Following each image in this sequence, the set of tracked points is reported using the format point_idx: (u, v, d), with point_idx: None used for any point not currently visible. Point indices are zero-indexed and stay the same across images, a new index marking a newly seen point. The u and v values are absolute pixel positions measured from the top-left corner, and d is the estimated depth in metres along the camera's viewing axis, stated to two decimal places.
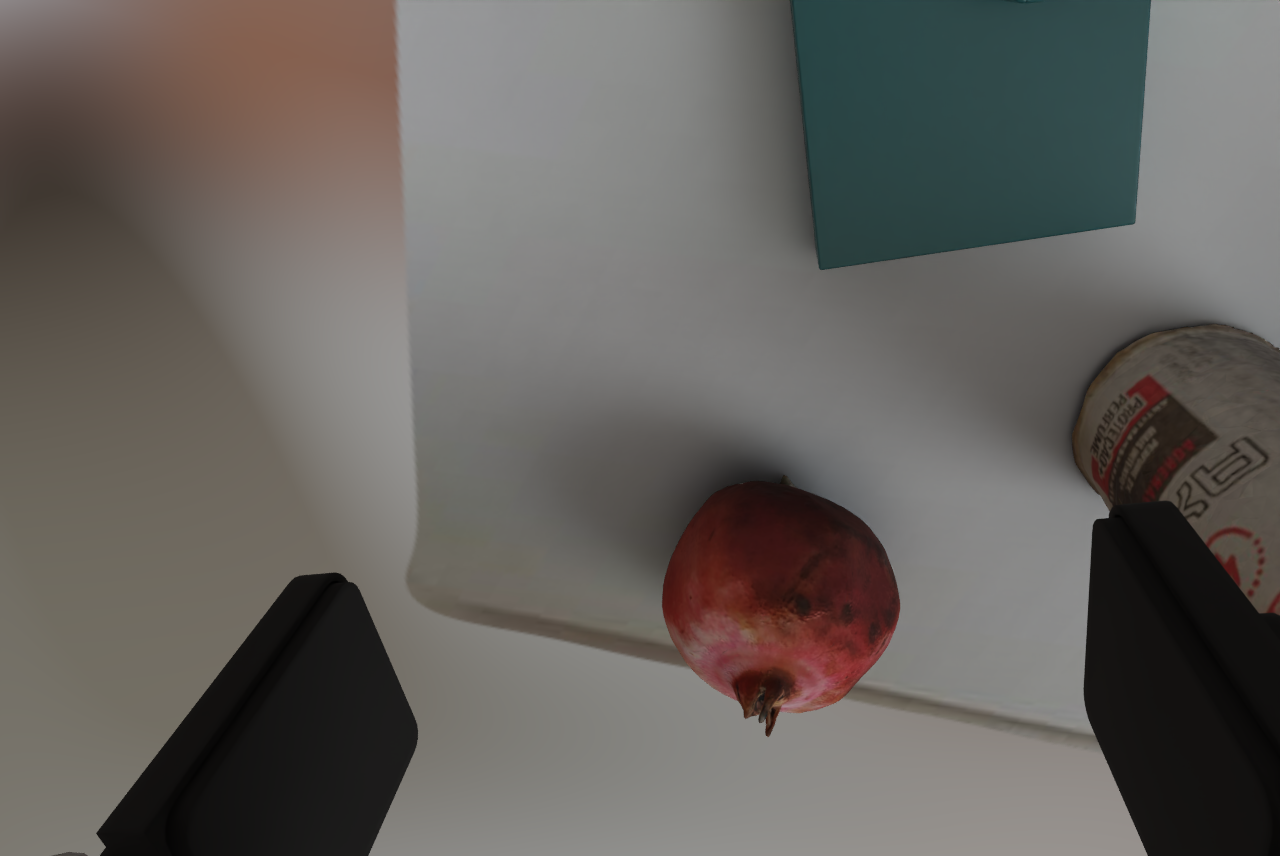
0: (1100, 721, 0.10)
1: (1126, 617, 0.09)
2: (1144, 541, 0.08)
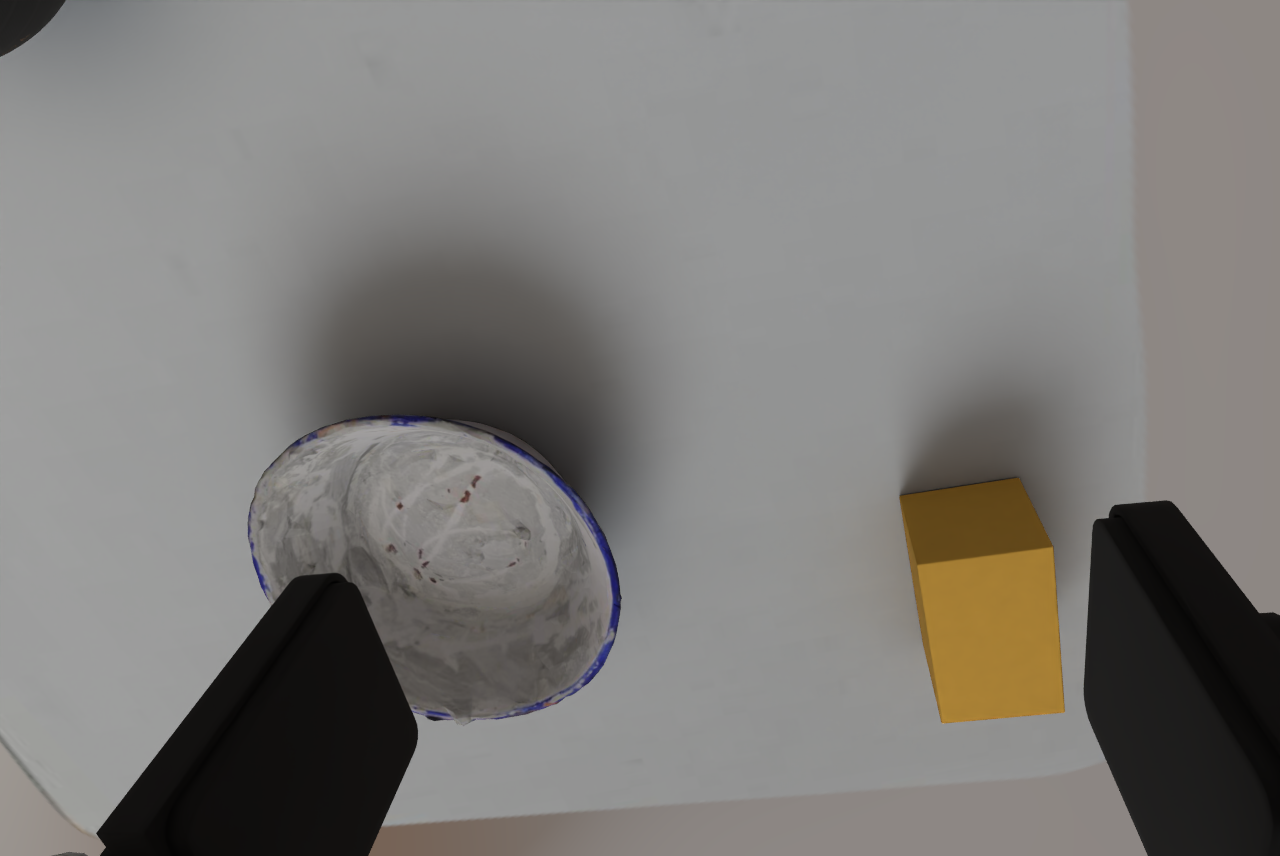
0: (1100, 721, 0.10)
1: (1126, 617, 0.09)
2: (1144, 541, 0.08)
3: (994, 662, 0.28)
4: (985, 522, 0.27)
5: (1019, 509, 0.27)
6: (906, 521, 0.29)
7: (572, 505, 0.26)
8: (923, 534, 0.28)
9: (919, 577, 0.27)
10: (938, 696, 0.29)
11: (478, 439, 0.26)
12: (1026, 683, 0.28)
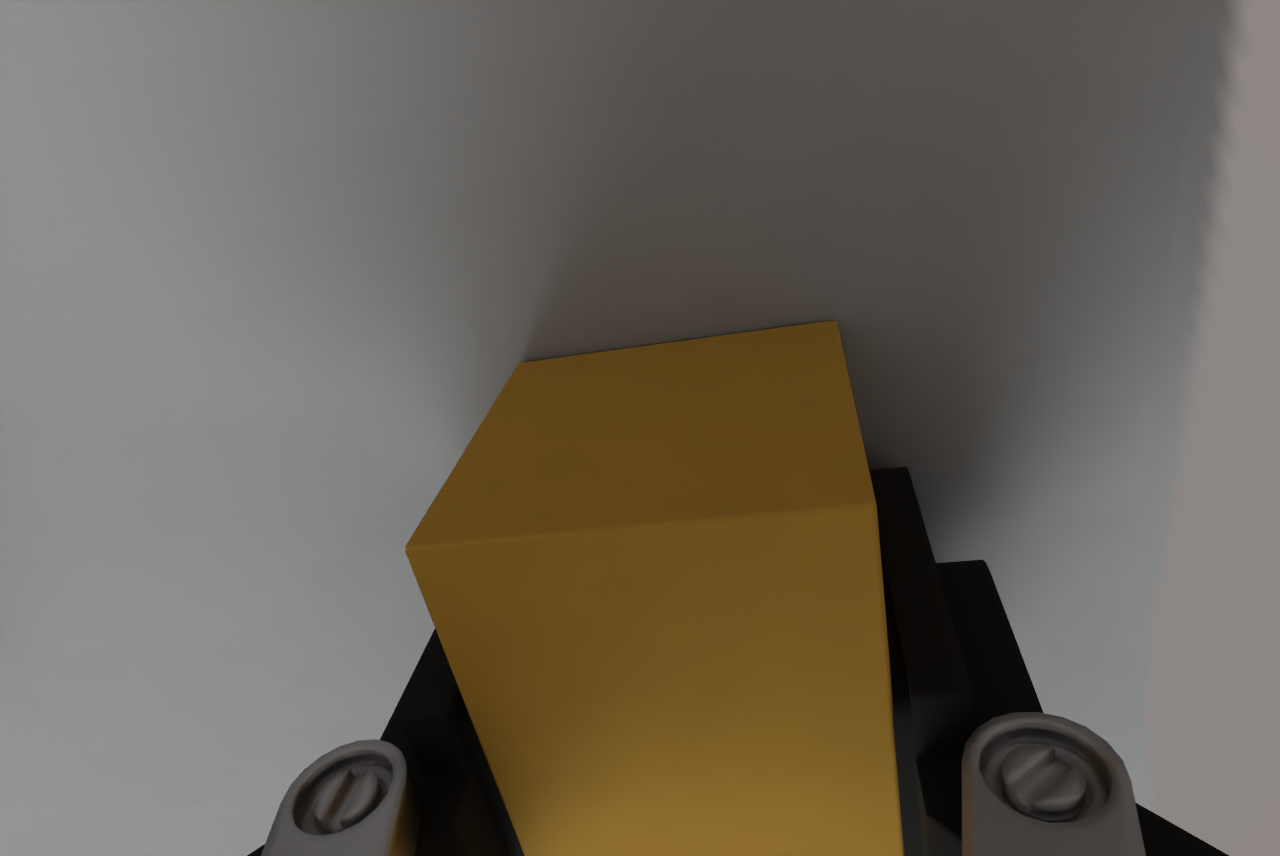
0: None
1: None
2: None
3: None
4: (689, 424, 0.08)
5: (805, 391, 0.08)
6: (485, 421, 0.09)
7: None
8: (497, 455, 0.09)
9: (425, 594, 0.08)
10: None
11: None
12: None
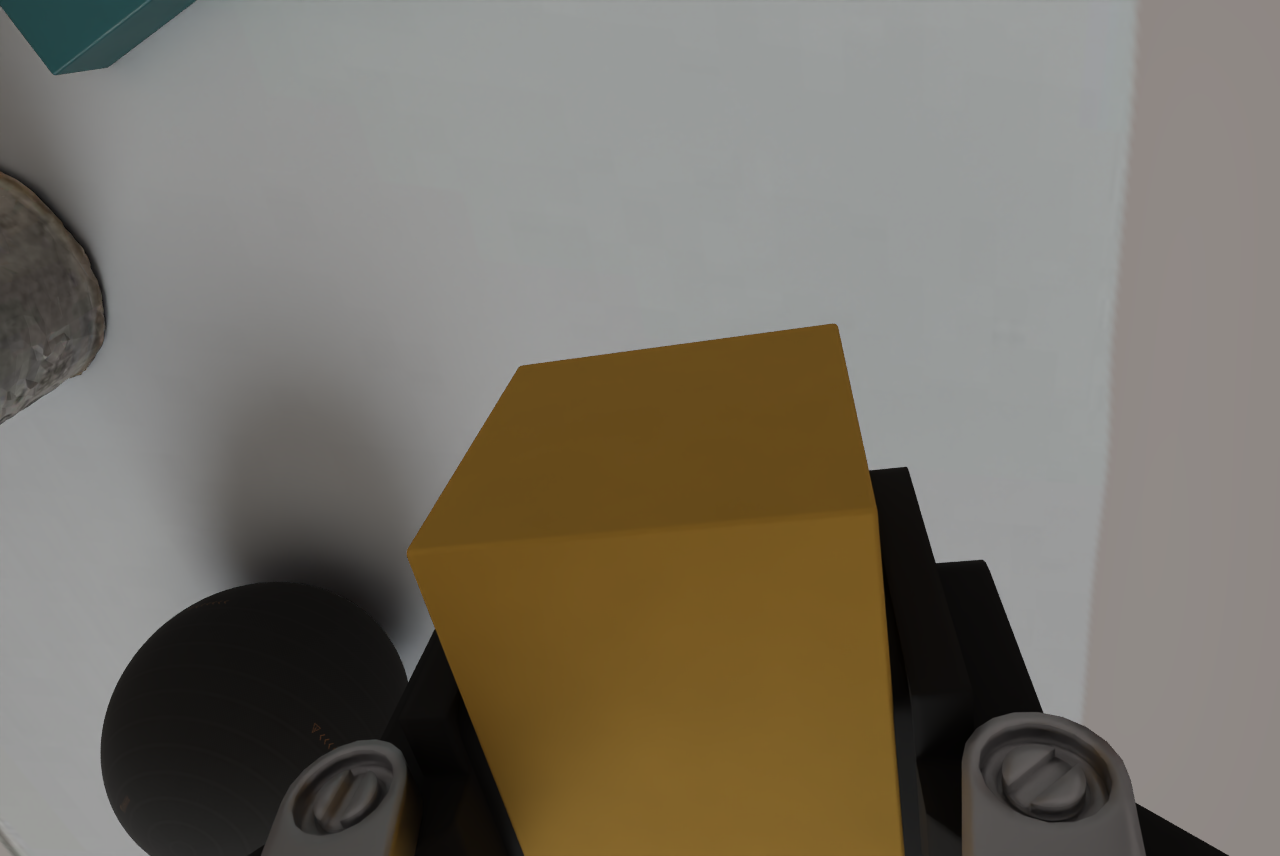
0: None
1: None
2: None
3: None
4: (690, 429, 0.08)
5: (806, 395, 0.08)
6: (486, 424, 0.09)
7: None
8: (498, 458, 0.09)
9: (426, 597, 0.08)
10: None
11: None
12: None
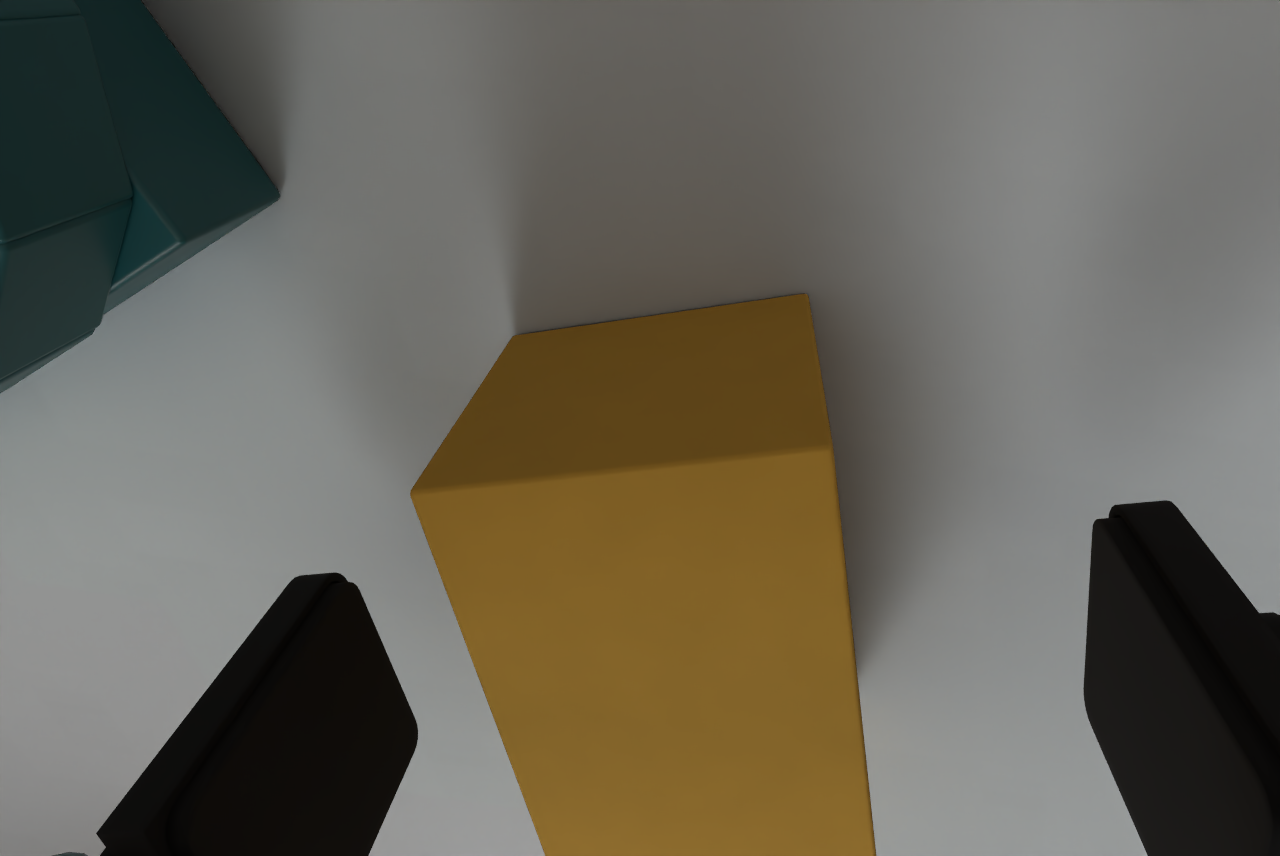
0: (1100, 721, 0.10)
1: (1126, 617, 0.09)
2: (1144, 541, 0.08)
3: (685, 798, 0.10)
4: (669, 384, 0.09)
5: (775, 354, 0.09)
6: (481, 386, 0.10)
7: None
8: (493, 414, 0.09)
9: (427, 535, 0.08)
10: None
11: None
12: None
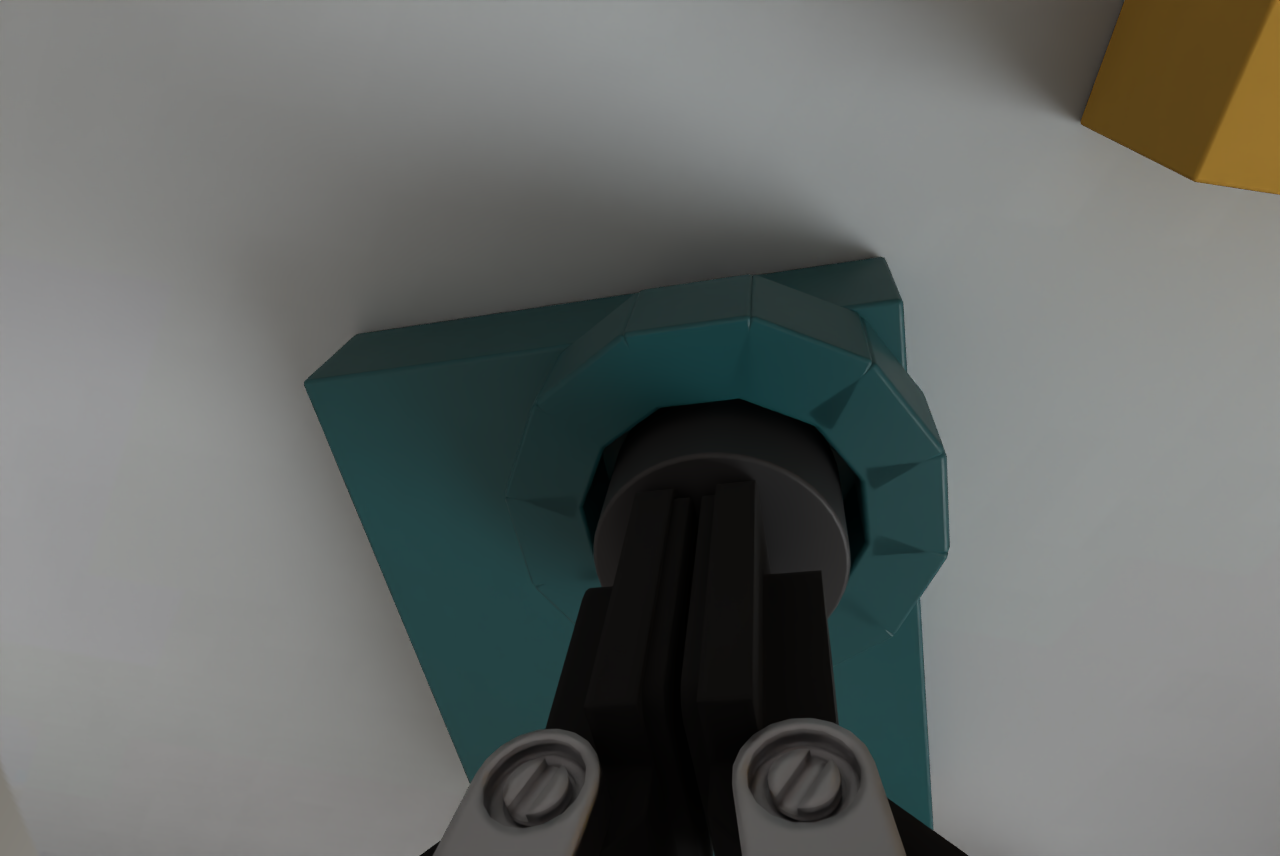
0: None
1: None
2: (716, 512, 0.10)
3: None
4: None
5: None
6: (1118, 141, 0.12)
7: None
8: (1154, 119, 0.11)
9: (1239, 186, 0.10)
10: None
11: None
12: None
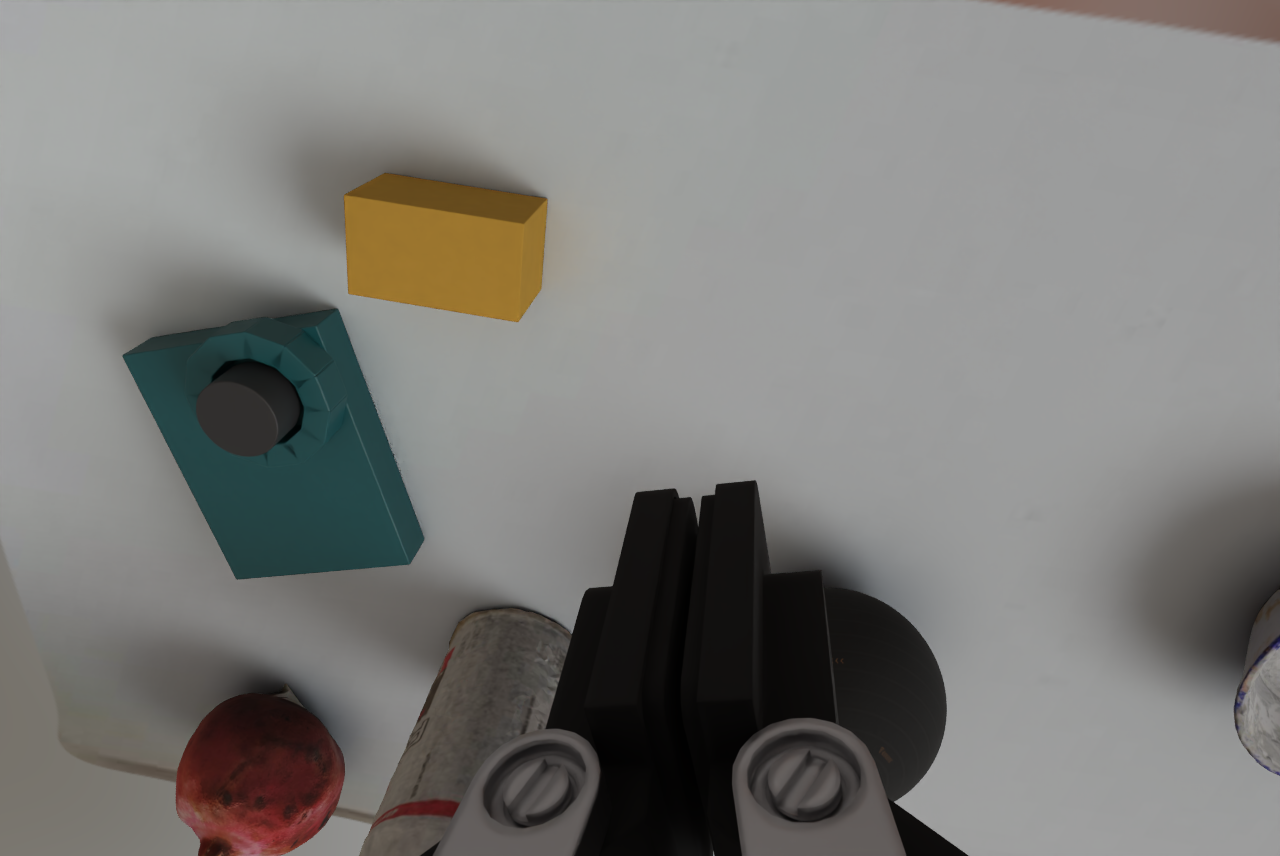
0: None
1: None
2: (716, 512, 0.10)
3: (455, 265, 0.33)
4: None
5: None
6: None
7: None
8: None
9: (361, 295, 0.34)
10: (486, 316, 0.34)
11: None
12: (483, 246, 0.32)
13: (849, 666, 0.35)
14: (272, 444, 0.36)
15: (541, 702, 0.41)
